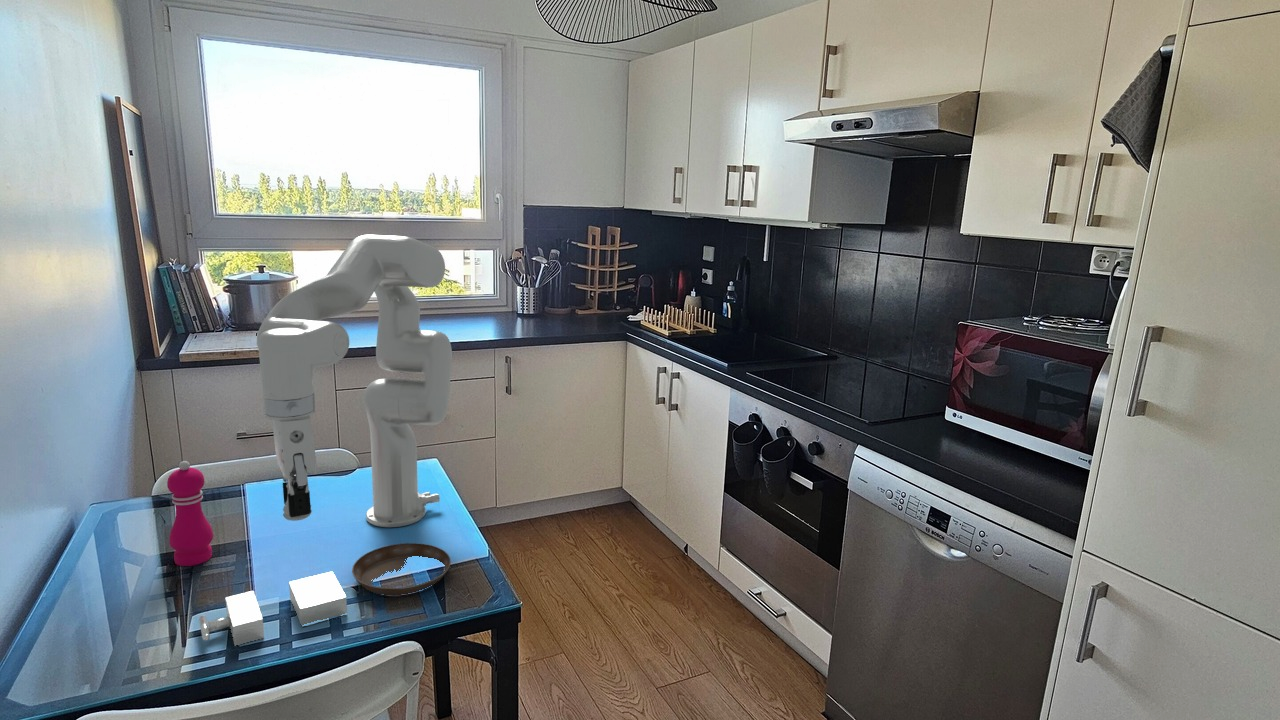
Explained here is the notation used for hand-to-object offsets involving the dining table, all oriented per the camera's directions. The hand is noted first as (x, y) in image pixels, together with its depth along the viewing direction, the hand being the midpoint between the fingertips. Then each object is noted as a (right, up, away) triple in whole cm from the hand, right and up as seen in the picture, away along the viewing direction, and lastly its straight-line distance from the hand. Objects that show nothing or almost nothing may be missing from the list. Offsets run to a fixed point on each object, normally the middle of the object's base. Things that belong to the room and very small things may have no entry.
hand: (297, 508), depth 122 cm
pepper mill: (-29, -14, +19) cm, 38 cm away
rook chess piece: (0, -2, 0) cm, 2 cm away
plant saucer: (+13, -17, +16) cm, 26 cm away
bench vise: (-4, -19, +1) cm, 19 cm away
